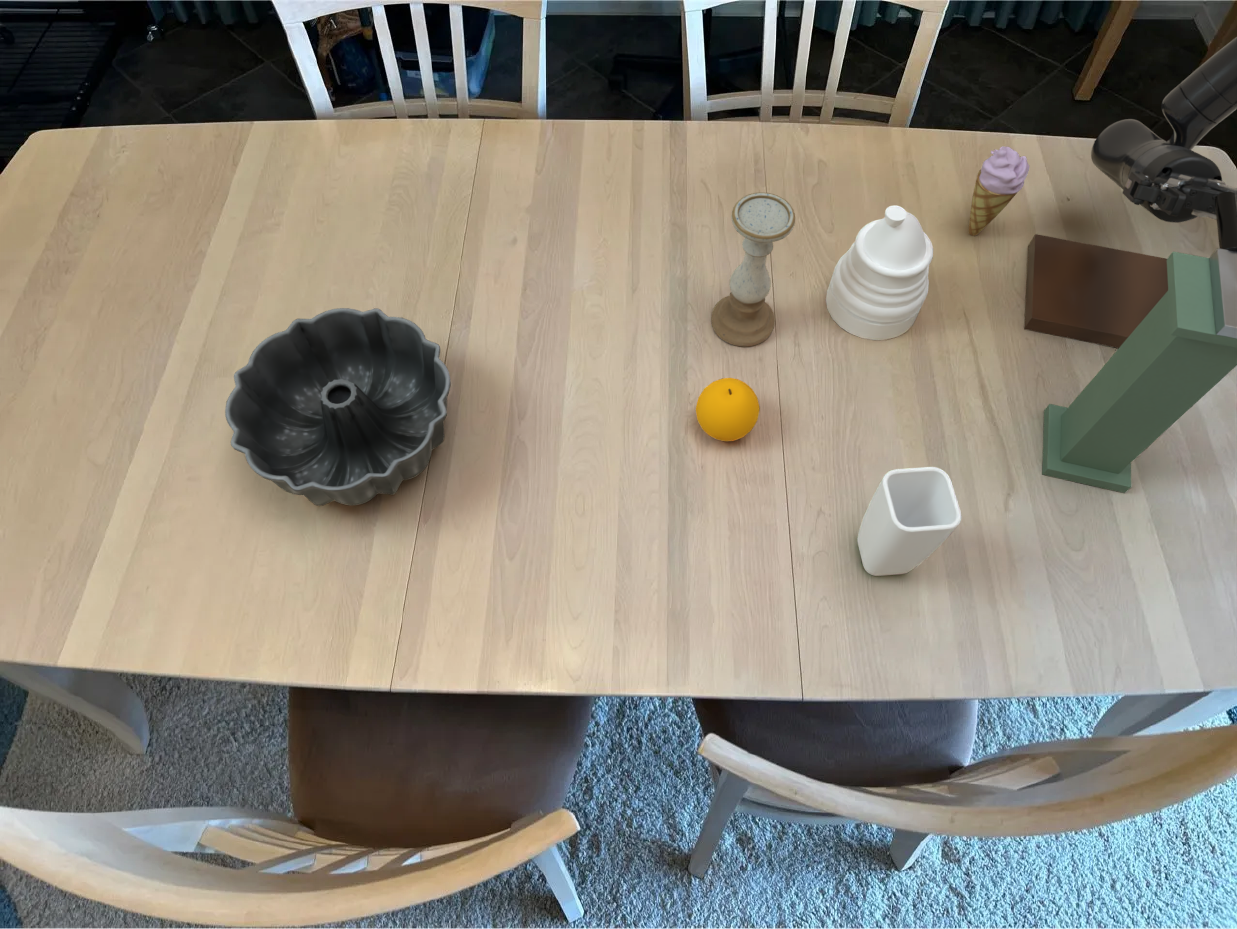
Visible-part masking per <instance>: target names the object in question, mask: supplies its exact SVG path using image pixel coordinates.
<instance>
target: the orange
mask: <svg viewBox="0 0 1237 929" xmlns="http://www.w3.org/2000/svg"><path fill="white" fill-rule="evenodd" d="M760 409H761V408H760V403H759V399H758V396H757V394H756V393H755V391H754V390H753V388H752V387H751V386H750V385H749V384H747V383H746V382H745V381H743V380H740V379H738V378H734V377H724V378H719V379H717V380H714V381H712V382H711V383H709V384H708V385H707V386H705V387H704V388H703V389H702V391H701V393H700V394H699V396H698V397H697V402H696V405H695V414H696V419H697V422H698V424H699V426H700V428H701V429H702V431H703V432H704V433H706V435H708V436H709V437H711V438H712V439H715V440H716V441H717V440H718V441H721V442H734V441H737V440H739V439H743V438H744V437H745V436H747V435H748V434H749V433H750V432H751V431H752V430H753V429H754V427H755V426H756V424H757V423H758V420H759V416H760V415H759V414H760V411H761V410H760Z"/></svg>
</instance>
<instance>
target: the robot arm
mask: <svg viewBox="0 0 1237 929" xmlns="http://www.w3.org/2000/svg"><path fill="white" fill-rule="evenodd" d="M1160 107H1161V108H1160V109H1161V111H1162V114H1163V116H1164V117H1165V119H1166V121H1167V122H1168V123H1169V126H1170V127H1171V128H1172V130H1173V133H1172V134H1171V136H1170V138H1169V139H1168V140H1167V141H1166V140H1165V139H1163V138H1161V137H1160V136H1158V135H1157V134H1156V133H1154V131H1152V130H1151V129H1150V128H1149V127H1148V126H1146V125H1145V124H1143V123H1142V122H1141V121H1140V120H1137V119H1134V118H1128V119H1121V120H1118V121H1116V122H1113V123H1111V124H1109V125H1108V126H1106V128H1104V129H1103V130H1102V131H1101V132H1100V133H1099V134H1098V136H1097V137H1096V139H1095V140H1094V142H1093V145H1092V148H1091V152H1090V157H1091V161H1092V164H1093V165H1094V166H1095V167H1096V168H1097V169H1098V170H1099V171H1100V172H1102V174H1104V175H1105V176H1106V177H1108V178H1109V179H1110V180H1111V181H1112V182H1113V183H1115V184H1116V185H1117V186H1118V187H1119V188H1120V189H1122V192H1121V193H1122V195H1123V196H1124V197H1126V199H1127V200H1129V201H1130V202H1131V203H1133V204H1134V205H1136V206H1139V205H1140V206H1141V207H1143V209H1145V210H1146V211H1147V212H1149V213H1151V214H1152V215H1153V216H1154V217H1156V218H1157V219H1158V220H1161V221H1164V222H1167V223H1173V224H1174V223H1177V224H1178V223H1184V222H1188V221H1191V220H1194V219H1196V218H1198V217H1199V218H1209V219H1212V220H1216V221H1217V219H1216V209H1215V198H1216V196H1217V195H1219V194H1220V193H1223V192H1233V193H1235V194H1236V199H1237V187H1234V186H1231V185H1227V184H1226V182H1225V181H1223V176H1222V172H1221V170H1220V168H1219V167H1218V165H1217V164H1216V163H1215V162H1214V160H1211V159H1210V158H1208V157H1206V156H1204V155H1202V154H1200V153H1198V152H1196V151H1194V150H1193V149H1194V148H1195V147H1196V146H1197V145H1198V143H1199V142H1200V141H1201V140H1202V139H1203V138H1204V137H1205V136H1206V135H1207V134H1208V133H1209V132H1210V131H1211V130H1212V129H1213V128H1215V127H1217V125H1218V124H1219V123H1221V122H1222V121H1224V120H1225V119H1226V118H1228V117H1229V116H1230V115H1231V114H1233V113H1234V112H1235V111H1236V110H1237V36H1236V37H1234V38H1233V39H1232V40H1230V42H1228V43H1227V44H1226V45H1224V46H1223V47H1221V49H1219V50H1218V51H1216V52H1215V53H1214V54H1213V55H1212V56H1211V57H1209V58H1208V59H1207V60H1205V62H1203V63H1202V64H1201V65H1200V66H1199V67H1197V68H1196V69H1195V70H1193V71H1192V73H1191V74H1190V75H1188V76H1187V77H1186V78H1185V79H1184V80H1182V81H1181V82H1180V83H1179V84H1178V85H1177V86H1176V87H1174V88H1173V89H1172V90H1170V91H1169V92H1168V94H1166V95H1165V97H1164V98H1163V99H1162V101H1161V104H1160Z"/></svg>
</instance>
